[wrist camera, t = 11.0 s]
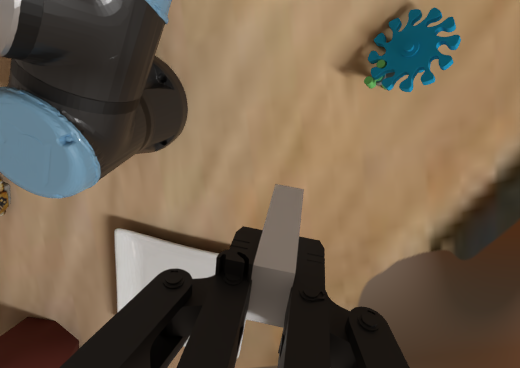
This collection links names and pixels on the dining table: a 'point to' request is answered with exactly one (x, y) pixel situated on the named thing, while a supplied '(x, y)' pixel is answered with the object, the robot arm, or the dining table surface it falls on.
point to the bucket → (36, 345)
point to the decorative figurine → (4, 197)
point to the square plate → (154, 263)
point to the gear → (411, 51)
